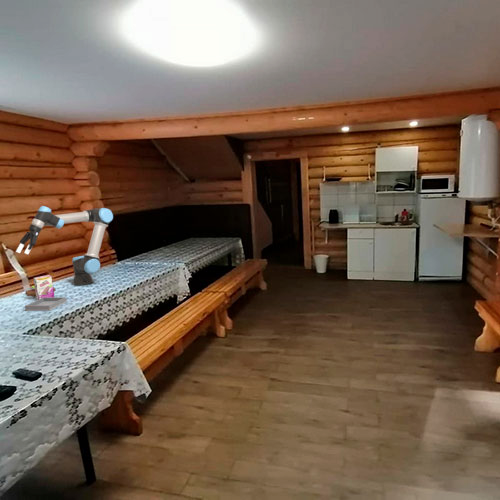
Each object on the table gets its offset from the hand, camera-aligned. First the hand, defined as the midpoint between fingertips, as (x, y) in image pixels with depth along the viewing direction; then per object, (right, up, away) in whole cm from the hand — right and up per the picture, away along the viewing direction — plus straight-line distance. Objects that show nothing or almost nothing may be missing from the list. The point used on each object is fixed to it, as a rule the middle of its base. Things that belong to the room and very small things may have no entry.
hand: (21, 253), depth 269 cm
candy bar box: (+10, -34, +14) cm, 38 cm away
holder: (+21, -36, -6) cm, 42 cm away
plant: (-5, -32, +32) cm, 45 cm away
